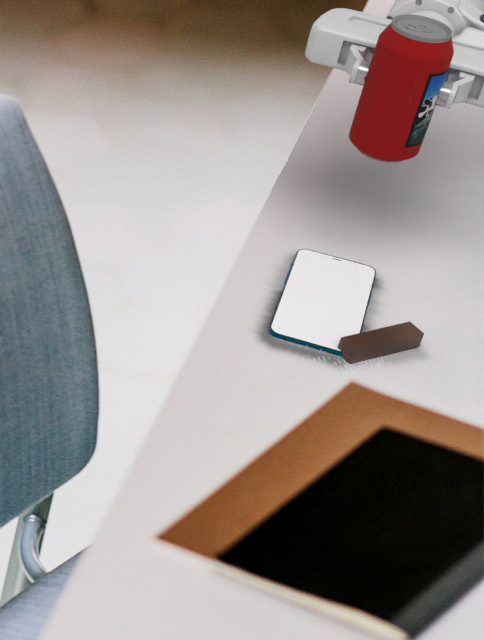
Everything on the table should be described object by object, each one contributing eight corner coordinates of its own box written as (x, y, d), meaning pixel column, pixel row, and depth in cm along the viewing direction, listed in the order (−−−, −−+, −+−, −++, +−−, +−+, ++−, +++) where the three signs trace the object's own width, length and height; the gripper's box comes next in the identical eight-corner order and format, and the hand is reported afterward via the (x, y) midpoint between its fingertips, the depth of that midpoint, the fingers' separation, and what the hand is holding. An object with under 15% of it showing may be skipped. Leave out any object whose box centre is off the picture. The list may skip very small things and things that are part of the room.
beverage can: (425, 170, 111) (470, 45, 103) (355, 164, 110) (395, 37, 102) (405, 137, 116) (447, 15, 108) (338, 131, 115) (375, 7, 107)
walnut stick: (404, 334, 108) (409, 320, 107) (419, 346, 107) (424, 333, 106) (335, 351, 105) (340, 337, 104) (349, 364, 103) (354, 350, 102)
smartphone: (352, 364, 104) (375, 275, 116) (355, 356, 104) (378, 267, 115) (264, 339, 106) (295, 254, 117) (266, 330, 105) (298, 246, 117)
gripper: (331, -19, 118) (299, 24, 108) (539, 33, 114) (527, 83, 103) (314, 43, 122) (282, 90, 112) (515, 95, 118) (500, 149, 108)
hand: (401, 87), depth 108 cm, fingers closed on beverage can, 6 cm apart
